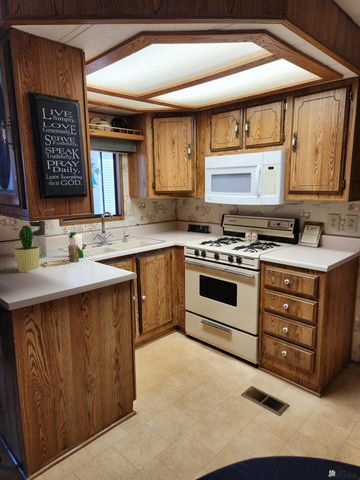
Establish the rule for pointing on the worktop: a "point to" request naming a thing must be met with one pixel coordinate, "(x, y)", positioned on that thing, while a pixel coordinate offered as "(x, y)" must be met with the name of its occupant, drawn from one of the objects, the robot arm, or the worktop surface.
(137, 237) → the worktop surface
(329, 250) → the worktop surface
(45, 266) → the oak rack
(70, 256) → the walnut board
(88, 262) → the worktop surface
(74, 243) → the milk carton
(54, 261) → the offcut upper
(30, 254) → the potted cactus
